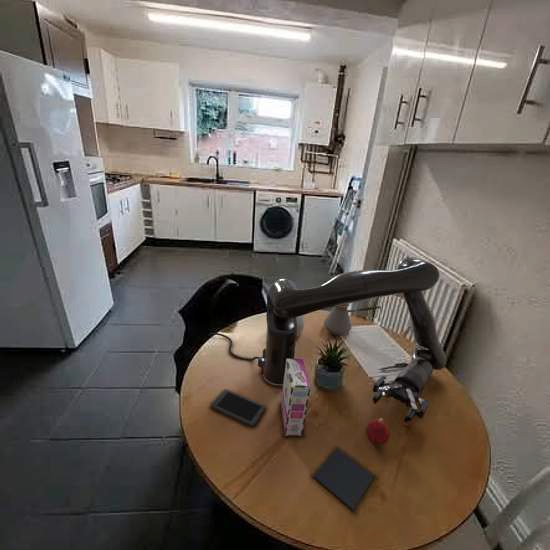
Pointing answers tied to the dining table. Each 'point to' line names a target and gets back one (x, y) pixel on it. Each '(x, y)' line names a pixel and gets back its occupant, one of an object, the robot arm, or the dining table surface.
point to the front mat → (344, 478)
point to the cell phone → (238, 407)
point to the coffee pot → (341, 319)
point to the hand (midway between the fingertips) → (390, 409)
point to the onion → (378, 432)
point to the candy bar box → (294, 397)
